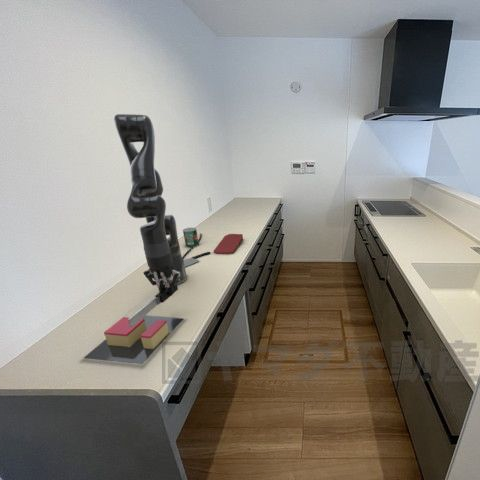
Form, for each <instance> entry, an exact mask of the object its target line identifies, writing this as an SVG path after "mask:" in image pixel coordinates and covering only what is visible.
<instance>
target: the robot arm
mask: <svg viewBox="0 0 480 480" xmlns="http://www.w3.org/2000/svg"><path fill="white" fill-rule="evenodd" d="M113 119H114V120H113V122H114V127H115V130H116V133H117V136H118V138H119V140H120V143H121V146H122V149H123V151H124V153H125V155H126V158H127V161H128V164H129V173H130V182H131V183H130V184H131V186H130V192H129V195H128V199H127V203H126V209H127V212H128V214H129V215H130V216H131V217H132V218H134V219H145V222H146V223H144V224H141V226H140V227H139V232H140V235H141V236H140V237H141V240H142V244H143V252H144V255H145V259H146V263H147V264H146V265H147V267H148V269H146V270H145V271H143V275H144V276H145V277H146V279H147V280H148V281H149V283H150V284H151V285H152V286H156V287H157V288H158V291H159V292H160V291H162V290H163V289H164V288H165V287H167V291H168V295H169V296H170V297H172V296H173V295H174V294H175V293H176V292H175V290H174V286H175V285H176V284H177V285H179V284H182V283H184V282H186V280H187V272H186V267H185V266H184V261H183V260H184V258H185V257H186V255H188V253H189V252H190V251H191V250H192V249H194V248H195V247H194V246H192V247H191V248H189V249H188V250H187V251H186V252H185V253H184V254H183V255H182V252H181V246H180V241H179V236H178V229H177V222H176V218H175V216H174V215H173V214H166V211H167V203H166V200H165V199H164V197H162V195H163V192H164V186H163V181H162V177H161V174H160V173H159V171H158V170H157V169H156V167H155V157H156V156H155V153H156V151H155V150H156V146H155V145H156V138H155V137H156V135H155V129H154V125H153V122H152V120H151V118H150V116H148V115H145V114H133V113H130V114H127V113H126V114H125V113H118V114H115V115H114V118H113ZM134 143H143V145H142V147H141V149H140V150H139V151H138V149H137V148H136V146H135V145H134ZM167 236H168V237H167ZM201 239H202V233H199V237H198V243H200V241H201ZM159 292H158V293H159Z"/></svg>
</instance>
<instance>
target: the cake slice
mask: <svg viewBox="0 0 480 480" xmlns="http://www.w3.org/2000/svg"><path fill="white" fill-rule="evenodd" d="M168 333H169V330H168V326H167V321H164V320H156V321H155V322H154V323H153V324H152V325H151V326H150V327H149V328H148V329H147V330H146V331H145V332H144V333H143V334H142V335H141V340H142V343H143V347H144V348H147V349H154V348H155V347H156V346H157V345H158V344H159V343H160V342H161V341H162V340H163V339H164V338H165V336H166V335H167V334H168Z"/></svg>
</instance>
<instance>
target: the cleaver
mask: <svg viewBox="0 0 480 480" xmlns="http://www.w3.org/2000/svg"><path fill="white" fill-rule="evenodd" d="M207 255H211V252H210V251H205V252H203V253H199V254H198V255H195V256H191V257H190V258H189V257H188V258H185V259H183V261H184V266H185V268H186V267H189V266H191V265H194V264H196V263H198V262H199V260H198V259H197V258H200V257H204V256H207Z"/></svg>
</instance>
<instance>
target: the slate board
mask: <svg viewBox="0 0 480 480" xmlns="http://www.w3.org/2000/svg"><path fill="white" fill-rule="evenodd" d="M142 319H144V320H145V324H146V327H147V329H148V328H149V327H150V326H151V325H152V324H153V323H154V322H155V321H156V320H164V321H167V326H168V330H169V333H168V334H167V335H166V336H165V338H164V339H163V340H162V341H161V342H160V343H159V344H158V345H157V346H156V347H155V348H154V349H147V348H144V347H143V343H142V340H141V337H140V338H139V339H138V340H137V341H136V342H135V343H134V344H133V345H132V346H131V347H125V346H114V345H108V343H107V340H106V339H105V340H103V341H102V342H100V344H98V345H97V346H96V347H95V348H93V349H92V350H91V351H90V352H88V353H87V354H86V355H85V356H84V357H83V359H86V360H87V359H88V360H97V361H107V362H116V363H127V364H137V365H143V364H144V363H145V362H146V361H147V360H148V359H149V357H151V356H152V354H153V353H155V351H156V350H157V349H158V348H159V347H160V346H161V345H162V343H164V341H166V339H167V338H168V337H169V336H170V335H171V334H172V333H173V331H175V329H177V327H178V326H179V325H180V324H181V323H182V322H183V321H184V318H182V317H181V318H180V317H171V316H170V317H169V316H157V315H145V316H144V317H143V318H142Z"/></svg>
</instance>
